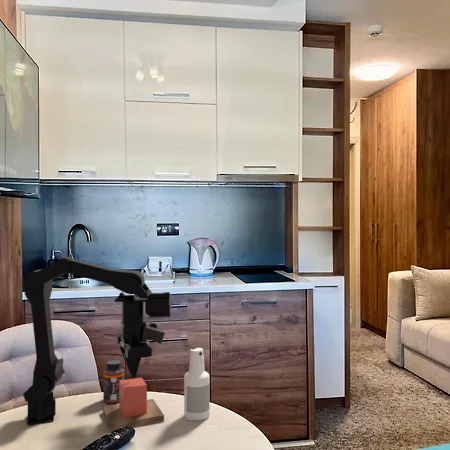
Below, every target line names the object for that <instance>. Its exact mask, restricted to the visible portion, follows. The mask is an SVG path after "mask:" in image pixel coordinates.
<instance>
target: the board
mask: <svg viewBox="0 0 450 450" xmlns="http://www.w3.org/2000/svg"><path fill="white" fill-rule="evenodd" d="M102 413H103V415H104V419H105V421H106V424H107V426H108V430H109V431H116V430H119V429H118V428H121V427H124V426H130V427H129V428H133V427H138V426H142V425H149V424H154V423H155V424H156V423H161V422H165V414H164V413H163V412H162V410H161V408H160V407H159V406H158V404H157V402H156V401H155V399H154V398H151V399H147V414H141V415H135V416H129V417H123V416H122V413H121V411H120V409H119V403H117V404H112V405H106V406H103V412H102Z"/></svg>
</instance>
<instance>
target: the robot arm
mask: <svg viewBox="0 0 450 450" xmlns="http://www.w3.org/2000/svg"><path fill="white" fill-rule="evenodd" d="M66 274H69V275H73V276H77V277H79V278H80V277H81V278H83V279H88V280H92V281H96V282H100V283H105V284H107V285H109V286H111V287H113V288H115V289H116V290H117V291H120V293H119V294H118V296H117V297H116V298H115V299H114V302H115V303H121V320H120V326H121V331H118V333H117V334H116V335H115V343H116V344H117V345H120V344H121V343H122V344H121V346H119V347H118V349H119V350H120V353H121V356H122V358H123V360H124V363H125V365H126V368H127V370H128V372H129V375H130V376H131V378H137V375H138V371H139V368H140V367H139V366H140V364H141V361H142V359H143V358H150V357H152V356H153V348H152V347H151V346H150V345H149V344H148V343H147V342H148V341H151V342H156V343H157V344H159V345H161V344H162V343H163V340H164V339H165V338H164V337H165V334H166V332H165V331H164V330H163V329H160V328H158V324H157V323H155V322H152V321H151V322H149V324H147V323H146V321H144V320H145V318H144V313H145V315H147V316H148V317H149V318H150V319H153V318H154V319H155V318H159V319H162V318H163V319H164V318H168V319H169V318H170V319H171V317H172V300H171V293H170V291H164V292H152V290H151V289H150V288H149V286H148V285H147V284H146V280H145V276H144V274H143V273H142V272H141V271H138V270H132V269H131V270H130V269H116V268H115V269H114V268H110V267H105V266H102V265H97V264H93V263H90V262H86V261H81V260H79V259H74V258H72V257H70V256H65V257H61V258H59V259H58V260H56V261H55V262H52V263H51V264H49V265H47V266H46V267H43V268H41V269H37V270H33V271H30V272H27V273H26V274H25V275H24V276H23V277H22V280H21V285H22V289H23V292H24V296H25V298H26V300H27V301H28V303H29V305H30V307H31V308H30V309H31V318H32V327H33V336H34V337H33V339H34V345H35V355H36V356H35V357H36V359H35V364H34V368H33V372H32V385H30V387H28V389H26V390H25V392H23V394H22V395H23V398H24V401H25V402H27V415H26V425H28V426H29V425H35V424H40V423H41V424H42V423H49V422H53V421H54V420H55V418H54V417H55V416H56V413H57V412H56V407H57V406H56V403H57V402H56V397H55V396H54V390H56V389H55V388H56V387H57V385H59V384H60V382H61V381H62V379H63V376H64V374H65V373H66V370H65V369H64V358H59V359H58V357H57V355H56V353H55V346H54V336H53V335H54V334H53V327H52V325H53V324H52V317H51V309H50V308H51V307H50V301H51V300H50V299H51V297H52V292H53V283H54V282H53V281H55V280H58V279H59V278H60V277H62V276H64V275H66ZM144 303H145V305H144ZM144 306H145V307H144ZM144 309H145V310H144ZM144 311H145V312H144Z"/></svg>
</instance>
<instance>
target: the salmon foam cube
mask: <svg viewBox="0 0 450 450" xmlns="http://www.w3.org/2000/svg"><path fill="white" fill-rule="evenodd" d="M147 400H148V385H147V383H146V382H145V380H144V379H143V377H134V378H129V379H124V380H120V381H119V402H118V404H119V409H120V411H121V413H122V416H123V417H129V416H135V415H141V414H147Z"/></svg>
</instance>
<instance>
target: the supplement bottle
mask: <svg viewBox="0 0 450 450" xmlns="http://www.w3.org/2000/svg"><path fill="white" fill-rule="evenodd" d="M120 380H125V370H124V368H123V367H122V362H121V360H119V359H118V360H117V359H114V360H108V361H107V362H106V369H104V370H103V381H102V383H103V389H102V391H103V392H102V393H103V395H102V396H103V397H102V398H103V402H104V403H107V404H119V381H120Z"/></svg>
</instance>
